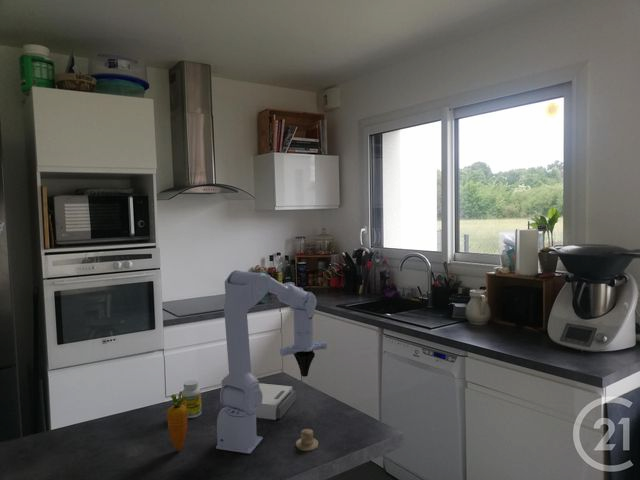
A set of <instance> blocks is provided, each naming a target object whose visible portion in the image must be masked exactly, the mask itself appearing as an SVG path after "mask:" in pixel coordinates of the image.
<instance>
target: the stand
mask: <svg viewBox="0 0 640 480" xmlns="http://www.w3.org/2000/svg"><path fill="white" fill-rule="evenodd" d="M295 446H296V448H297V449H298V450H299V451H303V452H309V451H315V450H316V449H318V447H319V441H318V440H317V439H316V438H314V431H313V430H312V429H311V428H305V429H302V430H301V431H300V438H299V439H297V440H296V441H295Z"/></svg>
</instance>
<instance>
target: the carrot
mask: <svg viewBox="0 0 640 480" xmlns="http://www.w3.org/2000/svg"><path fill="white" fill-rule="evenodd" d="M182 391H183V390H182ZM182 391H181V390H180V391H179V393H178V396H177V395H176V394H175V393H173V394H172V395H170V398H171V399H172V404H173V405H171V406H170V407H169V408H168V409H167V411H166V418H167V427H168V428H167V429H168V433H169V436H170V437H169V438H170V440H171V442H172V444H173V446H174V448H175V450H176V451H178V452H180V451H181V450H182V448H183V447H184V443H185V441H186V438H187V432H188V426H189V425H188V422H189V421H188V419H189V418H188V411H187V408H186V406H184V405H182V401H183V400H184V399H185V398H187V397H186V396H184V397H182Z"/></svg>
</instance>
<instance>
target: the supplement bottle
mask: <svg viewBox="0 0 640 480" xmlns="http://www.w3.org/2000/svg"><path fill="white" fill-rule="evenodd" d="M198 386H199V381H197V380H195V379H193V380H191V379H190V380H186V381H184V382H183V388H184V389H183V390H182V395H181V398H182V397H184V396H186V397H187V398H185V399H184V400H183V401H182V403H181V405H184V406H186V408H187V411H188V419H193V418H197V417H199V416H201V415H202V412H203V411H202V394H201V393H202V392H201V389H200V387H198Z"/></svg>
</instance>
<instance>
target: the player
mask: <svg viewBox="0 0 640 480" xmlns="http://www.w3.org/2000/svg"><path fill="white" fill-rule="evenodd" d="M259 387H260V389H261V391H262V396H263V399H262V404H261V406H260V408H259V409H258V411H256V419H266V420H275V421H276V420H277V419H278V418H277V406H278V404H279V403H280V402H281V401H282V400H283V399H284V398H285V397H286V396H287V395H289V394H290V393H291V392H292V391H293V386H289V385H280V384H279V385H278V384H270V383H269V384H268V383H260V382H259Z"/></svg>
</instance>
